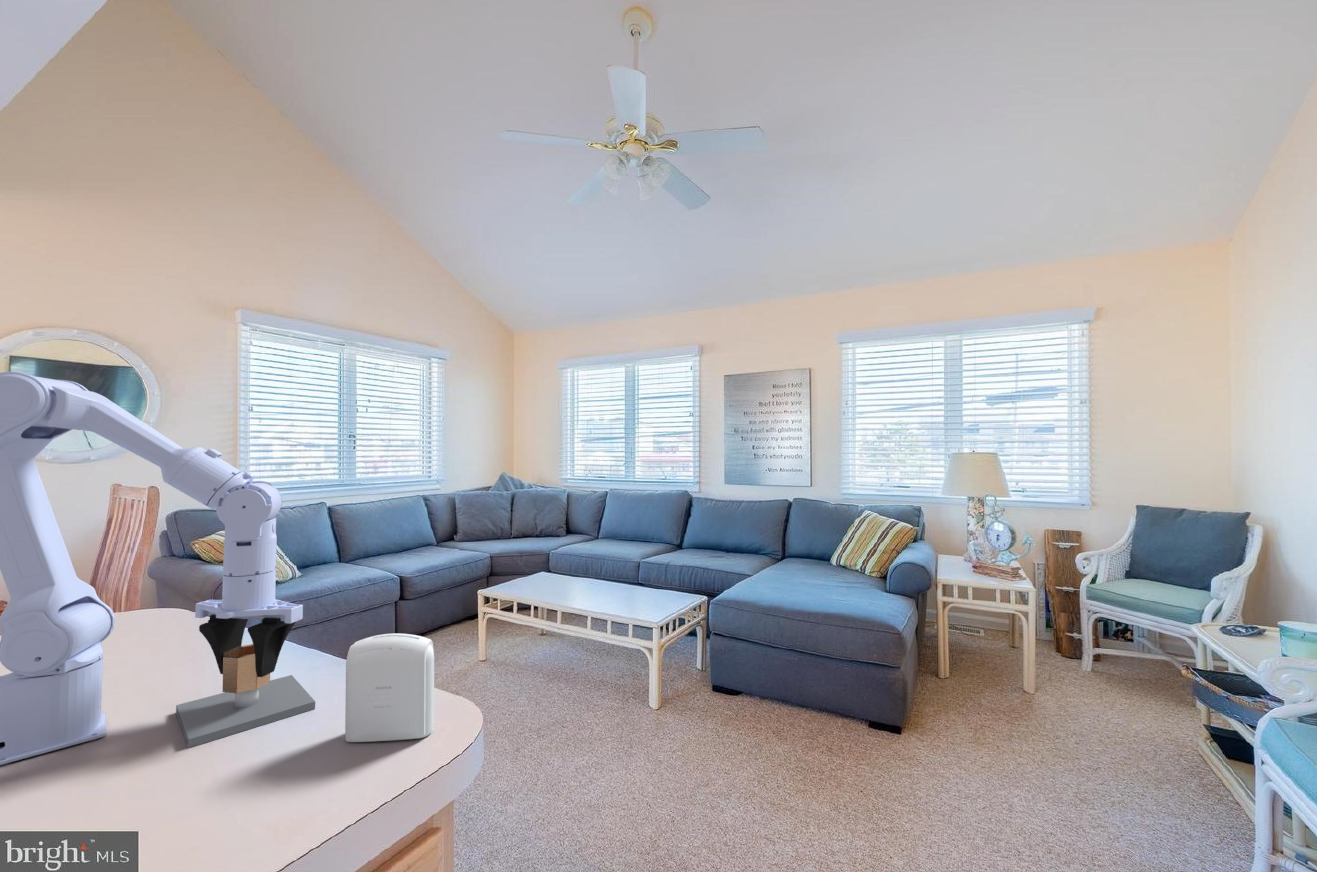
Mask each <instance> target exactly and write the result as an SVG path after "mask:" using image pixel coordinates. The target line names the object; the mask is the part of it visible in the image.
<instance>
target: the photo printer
mask: <svg viewBox="0 0 1317 872" xmlns="http://www.w3.org/2000/svg"><path fill="white" fill-rule="evenodd" d="M434 705H435V653H434V642H433V640H432V639H431V638H428V637H424V636H421V635H416V634H410V633H384V634H377V635H372V636H370V637H366V638H362V639H359V640H357V641H355V642H354V643H353V644H352V645H350V647H349V649H348V652H347V656H346V661H345V707H344V708H345V711H344V712H345V716H344V717H345V720H344V721H345V722H344V724H345V727H344V728H345V729H344V731H345V733H344V735H345V741H346V742H347V743H366V742H385V741H389V742H390V741H403V740H414V739H423V738H426V737H427V736H429V735H431V734H432V732H433V730H434V728H435V726H434V725H435V706H434Z"/></svg>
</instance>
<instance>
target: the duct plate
mask: <svg viewBox="0 0 1317 872" xmlns="http://www.w3.org/2000/svg"><path fill="white" fill-rule="evenodd" d="M315 709H316V701H315V699H314V698H313V697H312V696H311V695H310V694H309V693H308V691H307V690H306V689H305V688H304V687H303V685H301V683H300V682H299V681H298V680H297V679H296V678H295V677H294V676H293V675H292V674H291V675H286V676H282V677H278V678H275V679H270V682H269V683H267V684H265V685H263V686H261V687H259V688H257V689H254V690H249V691H244V692H240V693H228V692H222V693H217V694H214V695H210V696H207V697H202V698H199V699H195V700H191V701H186V702H182V703H179V704H175V714H176V717H177V719H178V721H179V725H180V728H181V731H182V734H183V736H184V740H185V742H186V745H187V748H188V749H190V748H193V747H196V746H199V745H202V744H207V743H210V742H213V741H215V740H219V739H222V738H225V737H229V736H232V735H235V734H238V733H242V732H245V731H248V730H251V729H255V728H258V727H260V726H263V725H267V724H271V723H274V722H276V721H277V722H278V721H280V720H283V719H286V718H290V717H292V716H296V715H299V714H302V713H306V712H308V711H309V712H310V711H312V710H315Z"/></svg>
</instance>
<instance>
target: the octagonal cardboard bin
mask: <svg viewBox="0 0 1317 872" xmlns="http://www.w3.org/2000/svg"><path fill="white" fill-rule="evenodd" d="M270 680H271V673H270V674H268V675H266V676H264V677H257V674H256V666H255V650H254V645H253V643H252V644H246V645H245V644H244V645H241V646H239V647H236V648H234V649H231V650H229V651H226V652H224V656H223V674H222V693H225V692H228V693H240V692H244V691H249V690H254V689H257V688H259V687H261V686H263V685H265V684H267V683H269V682H270Z"/></svg>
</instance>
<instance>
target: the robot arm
mask: <svg viewBox="0 0 1317 872" xmlns="http://www.w3.org/2000/svg"><path fill="white" fill-rule="evenodd" d="M72 430H76V431H85V432H92V433H95V434H97V435H98V436H100V437H102V438H104V439H106V440H108V441H109V442H112V443H113V444H116V445H117V446H119V447H121V448H122V449H125V450H127V451H129V452H131V453H133V454H134V455H136V456H138V457H140V458H142V459H144V460H147V461H148V462H150V463H152V464H153V465H155V466H157V467H159V468H160V471H161V477H162V479H163V482H164V483H166V484H167V485H169V486H171V487H173V488H174V489H176V490H178V491H180V492H181V493H183V494H184V495H187V496H188V497H189V498H192V499H194V500H195V501H198V503H201V504H202V505H204V506H205V507H207V508H209V509H211V510H214V509H215V511H216V512H215V513H216V514H217V517H218V519H219V520H220V521H221V523H222V524H224V539H223V560H222V561H223V562H222V563H223V565H222V567H223V568H222V592H221V597H222V599H207V600H205V601H204V600H203V601H200V602H197V603H195V610H194V611H195V612H194V618H196V619H204V618H206V617H209V619H208V620H207V622H205V623H202V624H199V626H198V631H199V632H200V634H202V636H203V637H204V638H205V640H206V641H207V643H208V644H209V646H210V647H211V650H212V652H213V655H214V658H215V660H216V664H217V667H218V671H219V673H220V675H223V656H224V652H226V651H229V650H231V649H234V648H236V647H239V646H243V645H242V643H243V638H244V634H245V629H246V626H247V624H248V621H249V620H257V621H258V620H259V621H262V622H260V623H256V624H254V625H251V626H248V627H247V632H248V634H249V636H250V638H251V642H252V644H253V645H254V650H255V666H256V674H257V677H264V676H266V675H268V674H270V675H271V674H272V673H273V672H275V669H276V666H277V663H278V660H279V656H280V653H281V650H282V648H283V645H284V643H285V642H286V639H287V637H288V635H289V633H290V632H291V631H292V628H293V627H294V626H295V624H296V622H298V621H301V620H303V618H304V616H303V615H304V604H299V603H292V602H288V601H283V600H281V599H278V598H277V599H276V582H277V579H276V576H277V541H278V539H277V537H278V535H277V517H276V515H277V514H279V512H280V510H281V509H282V505H283V497H282V495H281V492H280V491H279V490H278V489H277V488H276V487H275V486H273V484H272V483H271V482H269V481H265V480H254V479H255V477H256V475H255V474H253V472H250V471H246V472H244V471H242V470H241V469H238V468H237V467H235V466H233V465H232V464H230V463H228V462H227V461H225V460H224V459H222V458H220V457H222V455H223V454H222V452H220V451H219V450H217V449H215V448H209V449H206V448H203V447H201V446H195V447H194V446H193V447H186V448H185V447H184V448H183V447H182V446H180V445H178V444H177V443H176V442H175V441H173V440H172V439H170V438H168V437H167V436H165V435H163V434H162V433H160V432H159V431H158V430H157V429H154V428H153V427H151V426H150V425H148V424H147V423H145V422H143V421H142V420H140V419H139V418H137V416H135V415H133V414H132V413H130V412H129V411H127V410H125V409H124V408H123V407H121V406H119V405H118V404H116V403H115V402H113V401H112V400H110V399H109V398H107V397H106V396H104V395H102V394H100V393H98V392H95V391H90V390H89V389H87V388H86V387H85V386H83V385H82V384H80V383H78V382H75V381H72V380H66V379H53V378H49V377H47V378H46V377H42V376H36V375H35V376H34V375H31V374H28V373H26V372H25V373H24V372H20V371H2V372H0V573H1V575H2V579H3V580H4V582H5V585H6V588H7V591H8V594H9V596H10V598H9V601H8V603H7V604H6V606H5V607H4V609H3V611H2V613H1V614H0V631H1V632H0V633H1V634H0V635H1V636H0V663H1V665H2V666H3V668H6V669H7V670H8V671H10V673H8V674H3V675H0V766H1V765H2V766H3V765H6V764H10V763H13V762H17V761H20V760H23V759H28V758H31V757H34V756H38V755H42V754H46V753H49V752H53V751H58V750H60V749H64V748H68V747H71V746H75V745H79V744H82V743H86V742H89V741H94V740H96V739H100V738H101V739H102V738H103V737H105V736H106V735H107V725H106V723H107V722H106V716H105V715H106V713H105V711H103V710H102V701H103V700H102V699H103V696H102V695H103V669H104V667H103V665H104V650H103V642H104V640H106V639H107V638H108V637H109V636H110V635H111V633H112V632H113V630H114V628H115V626H116V616H115V613H114V611H113V610H112V608H111V607H110V606H109V605H107V604H106V603H105V602H104V601H102V600H101V599H100V598H99V596H98V594H97V592H96V589H95V587H94V586H92V585H90V584H89V583H87V582H86V581H83V580H82V579H80V578H79V577H78V576H77V574H76V570H75V568H74V566H73V563H72V560H71V557H70V554H69V552H68V551H69V550H68V548H67V546H66V543H65V541H64V538H63V535H62V532H61V529H60V527H59V524H58V522H57V519H56V516H55V513H54V510H53V508H52V505H51V503H50V500H49V497H48V495H47V491H46V488H45V487H44V483H43V481H42V477H41V476H40V473H39V470H38V466H37V464H36V462H35V458H36V457H37V456H38V455H39V454H40V453H41V452H42V451H43V450H44V449H45V448H46V447H47V446H48V445H49V444H50V443H51V442H52V441H53V440H56V439H57V438H59V437H61V436H63V435H65V434H67V433H68V432H70V431H72Z"/></svg>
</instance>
